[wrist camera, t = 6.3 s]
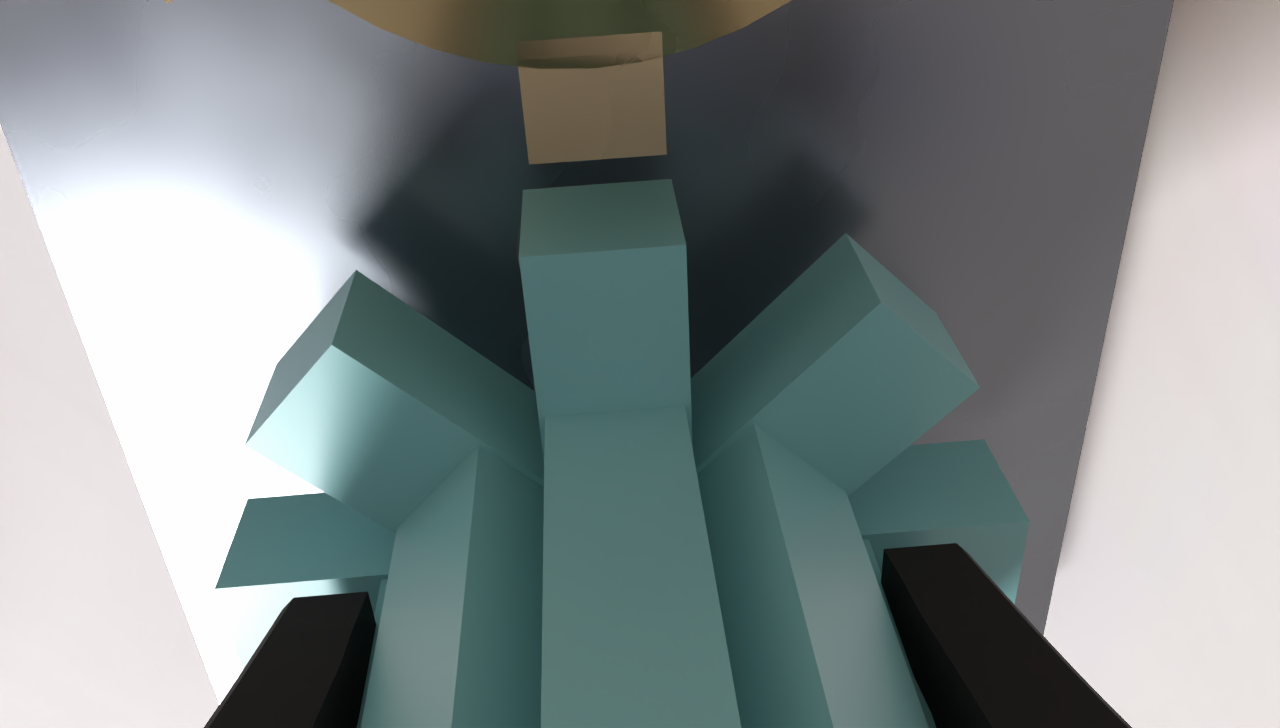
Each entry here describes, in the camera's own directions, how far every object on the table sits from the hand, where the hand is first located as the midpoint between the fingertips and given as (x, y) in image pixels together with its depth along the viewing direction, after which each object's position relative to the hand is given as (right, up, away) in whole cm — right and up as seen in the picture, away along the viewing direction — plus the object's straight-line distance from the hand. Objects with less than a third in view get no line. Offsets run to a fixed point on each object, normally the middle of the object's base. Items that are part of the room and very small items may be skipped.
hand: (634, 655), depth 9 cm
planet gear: (0, +1, +1) cm, 2 cm away
